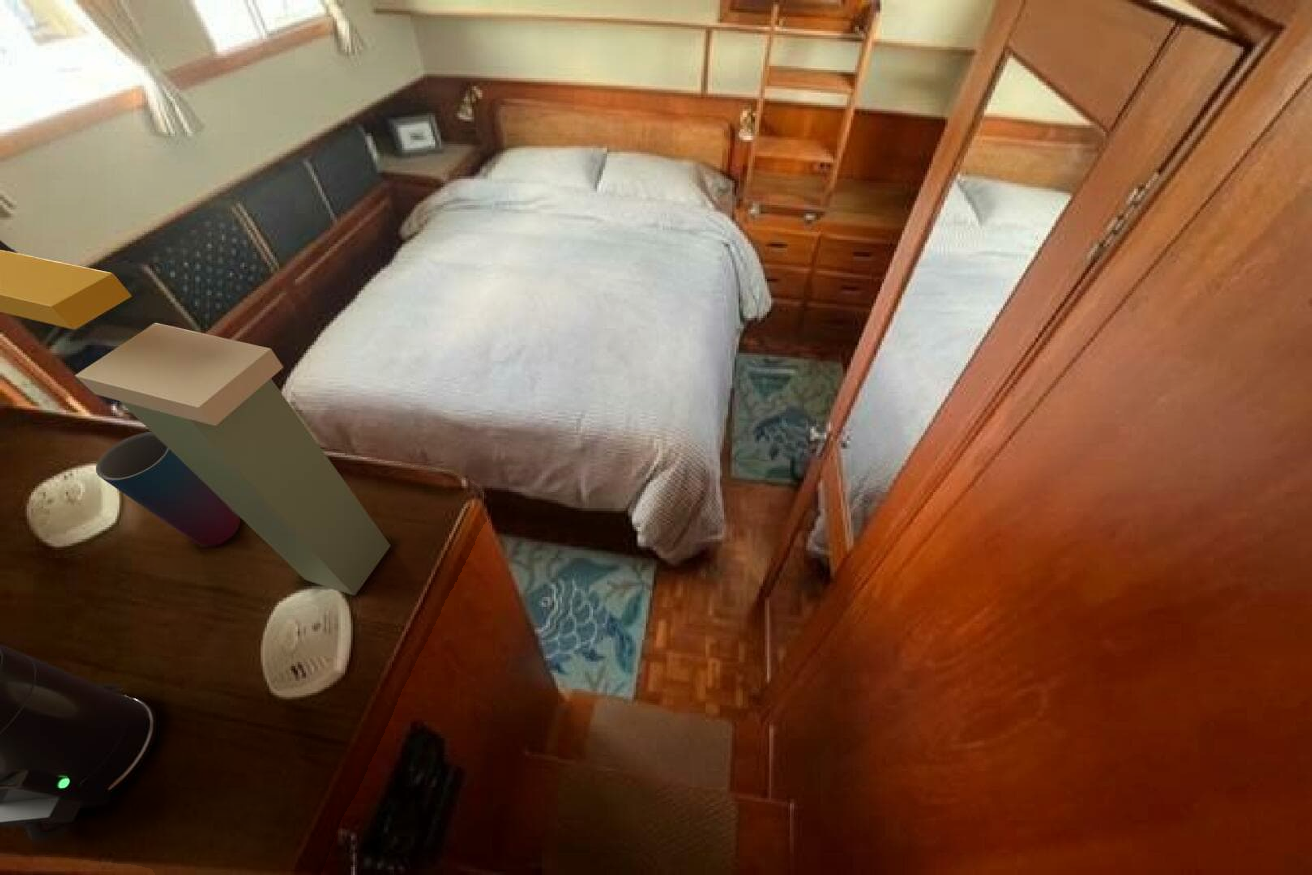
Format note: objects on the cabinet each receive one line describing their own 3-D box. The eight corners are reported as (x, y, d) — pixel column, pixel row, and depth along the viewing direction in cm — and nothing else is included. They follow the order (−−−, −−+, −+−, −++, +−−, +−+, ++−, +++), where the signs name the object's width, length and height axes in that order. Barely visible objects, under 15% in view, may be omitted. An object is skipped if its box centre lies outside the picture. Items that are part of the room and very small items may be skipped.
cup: (229, 553, 67) (144, 480, 56) (175, 552, 67) (79, 479, 56) (258, 508, 71) (184, 432, 60) (207, 507, 71) (124, 431, 60)
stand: (408, 550, 67) (271, 348, 43) (373, 601, 63) (198, 407, 39) (327, 527, 69) (155, 322, 46) (288, 574, 65) (74, 375, 41)
